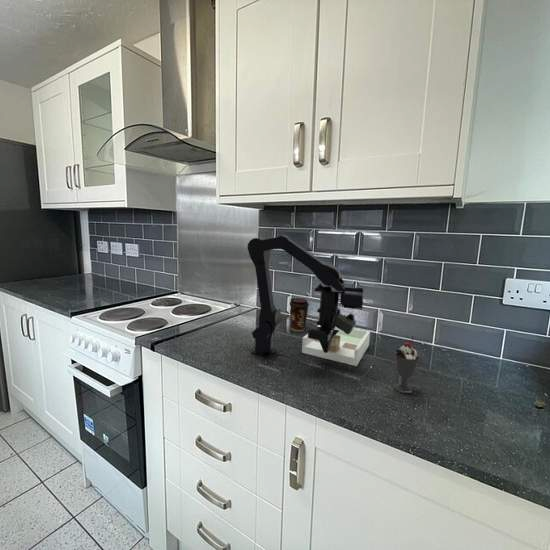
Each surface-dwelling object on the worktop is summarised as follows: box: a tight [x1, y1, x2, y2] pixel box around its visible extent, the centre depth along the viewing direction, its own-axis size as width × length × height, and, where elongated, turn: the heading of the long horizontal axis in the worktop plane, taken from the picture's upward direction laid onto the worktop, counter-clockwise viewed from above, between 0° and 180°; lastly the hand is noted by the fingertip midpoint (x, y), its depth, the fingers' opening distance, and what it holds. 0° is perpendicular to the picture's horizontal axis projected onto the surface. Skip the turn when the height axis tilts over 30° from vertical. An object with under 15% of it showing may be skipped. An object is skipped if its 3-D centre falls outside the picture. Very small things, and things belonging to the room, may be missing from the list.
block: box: [328, 335, 340, 353], centre depth 101 cm, size 4×4×4 cm
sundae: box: [393, 335, 421, 391], centre depth 81 cm, size 7×7×15 cm
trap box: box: [301, 325, 371, 367], centre depth 108 cm, size 20×19×6 cm
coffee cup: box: [289, 297, 310, 332], centre depth 127 cm, size 9×8×13 cm
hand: (325, 352), depth 96 cm, fingers closed
